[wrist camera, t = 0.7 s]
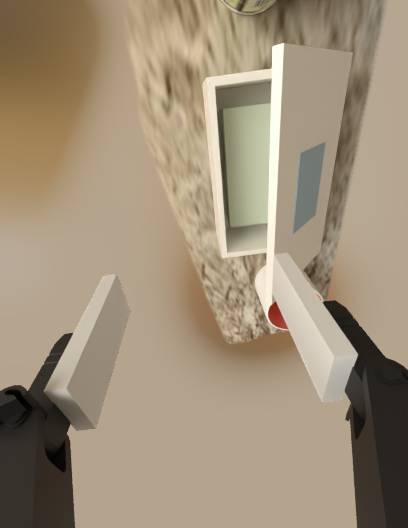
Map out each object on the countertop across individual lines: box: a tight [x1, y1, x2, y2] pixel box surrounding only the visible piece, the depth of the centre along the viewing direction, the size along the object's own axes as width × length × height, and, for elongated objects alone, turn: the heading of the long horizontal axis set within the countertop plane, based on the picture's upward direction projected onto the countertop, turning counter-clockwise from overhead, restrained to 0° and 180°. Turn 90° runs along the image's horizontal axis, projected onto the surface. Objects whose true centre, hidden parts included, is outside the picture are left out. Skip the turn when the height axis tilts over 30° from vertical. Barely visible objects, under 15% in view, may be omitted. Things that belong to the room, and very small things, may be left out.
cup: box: [255, 264, 324, 330], centre depth 47 cm, size 10×10×10 cm
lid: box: [265, 43, 353, 305], centre depth 26 cm, size 14×23×1 cm
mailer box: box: [202, 69, 272, 258], centre depth 35 cm, size 14×22×9 cm, turn 7°
